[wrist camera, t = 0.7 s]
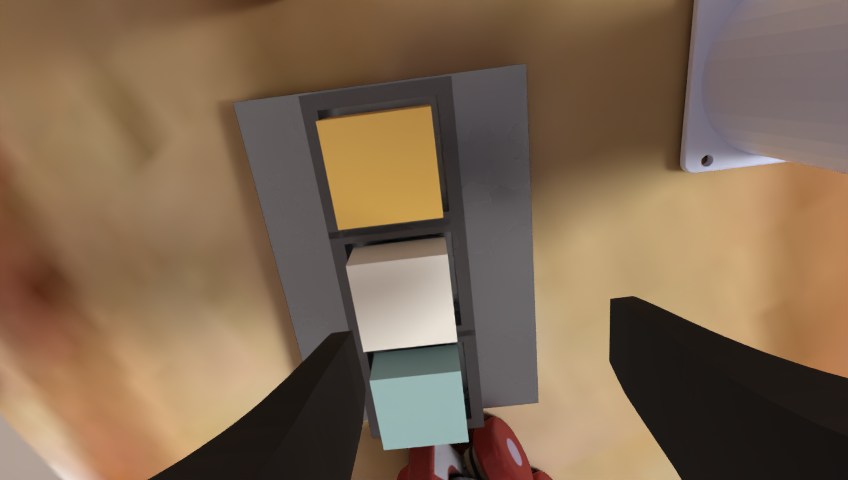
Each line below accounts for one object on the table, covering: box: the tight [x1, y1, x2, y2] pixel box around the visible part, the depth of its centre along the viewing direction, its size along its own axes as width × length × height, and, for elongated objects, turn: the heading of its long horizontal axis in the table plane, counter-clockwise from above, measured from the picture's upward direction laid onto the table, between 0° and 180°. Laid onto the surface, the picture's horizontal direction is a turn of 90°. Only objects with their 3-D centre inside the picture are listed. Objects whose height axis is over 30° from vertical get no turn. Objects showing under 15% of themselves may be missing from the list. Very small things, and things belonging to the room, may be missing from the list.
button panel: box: [233, 64, 538, 438], centre depth 20 cm, size 12×17×3 cm
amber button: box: [316, 104, 443, 230], centre depth 16 cm, size 4×4×2 cm
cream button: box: [346, 237, 457, 352], centre depth 18 cm, size 4×4×2 cm
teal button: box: [370, 344, 469, 450], centre depth 20 cm, size 4×4×2 cm
